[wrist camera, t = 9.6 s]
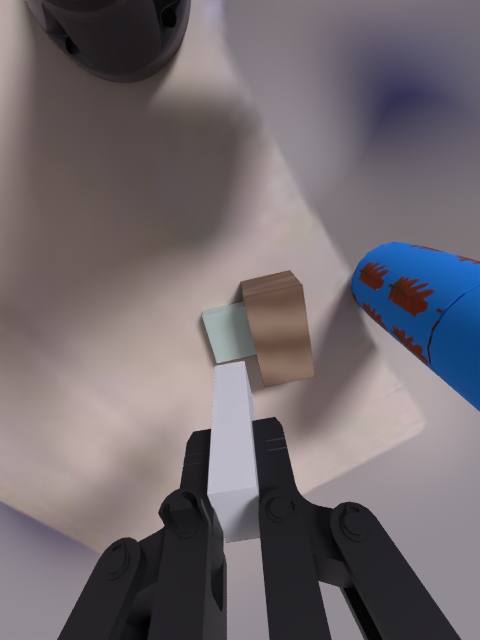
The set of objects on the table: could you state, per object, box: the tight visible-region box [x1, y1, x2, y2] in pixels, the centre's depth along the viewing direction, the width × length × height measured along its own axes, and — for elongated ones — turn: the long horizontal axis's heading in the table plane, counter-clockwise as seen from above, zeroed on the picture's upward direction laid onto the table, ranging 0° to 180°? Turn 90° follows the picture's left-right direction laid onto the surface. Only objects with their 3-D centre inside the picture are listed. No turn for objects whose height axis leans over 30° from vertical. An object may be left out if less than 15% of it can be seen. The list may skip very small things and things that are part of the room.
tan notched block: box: [241, 270, 315, 387], centre depth 38 cm, size 13×7×7 cm, turn 13°
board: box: [202, 301, 257, 363], centre depth 41 cm, size 8×11×2 cm
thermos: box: [351, 242, 480, 411], centre depth 29 cm, size 11×11×25 cm
